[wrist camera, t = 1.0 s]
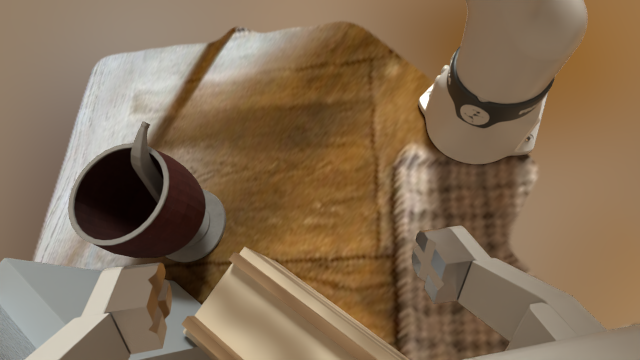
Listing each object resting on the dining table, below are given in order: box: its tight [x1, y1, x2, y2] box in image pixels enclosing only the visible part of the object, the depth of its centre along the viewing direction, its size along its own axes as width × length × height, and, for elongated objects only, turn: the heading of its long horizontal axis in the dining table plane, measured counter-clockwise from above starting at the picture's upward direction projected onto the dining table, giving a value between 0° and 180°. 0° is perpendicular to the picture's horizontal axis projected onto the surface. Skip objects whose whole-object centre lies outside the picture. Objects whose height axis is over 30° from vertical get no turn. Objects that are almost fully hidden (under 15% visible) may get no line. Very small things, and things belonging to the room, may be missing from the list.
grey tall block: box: [0, 258, 212, 360], centre depth 37 cm, size 8×14×26 cm, turn 55°
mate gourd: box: [68, 122, 226, 262], centre depth 46 cm, size 16×14×20 cm
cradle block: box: [181, 247, 410, 360], centre depth 39 cm, size 11×23×15 cm, turn 55°
